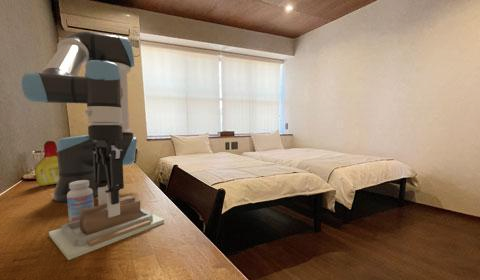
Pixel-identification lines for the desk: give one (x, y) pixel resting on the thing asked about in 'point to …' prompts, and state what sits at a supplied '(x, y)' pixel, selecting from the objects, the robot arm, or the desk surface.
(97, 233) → the tray
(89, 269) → the desk surface
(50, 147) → the bottle
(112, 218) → the brown block
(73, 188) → the pill bottle
